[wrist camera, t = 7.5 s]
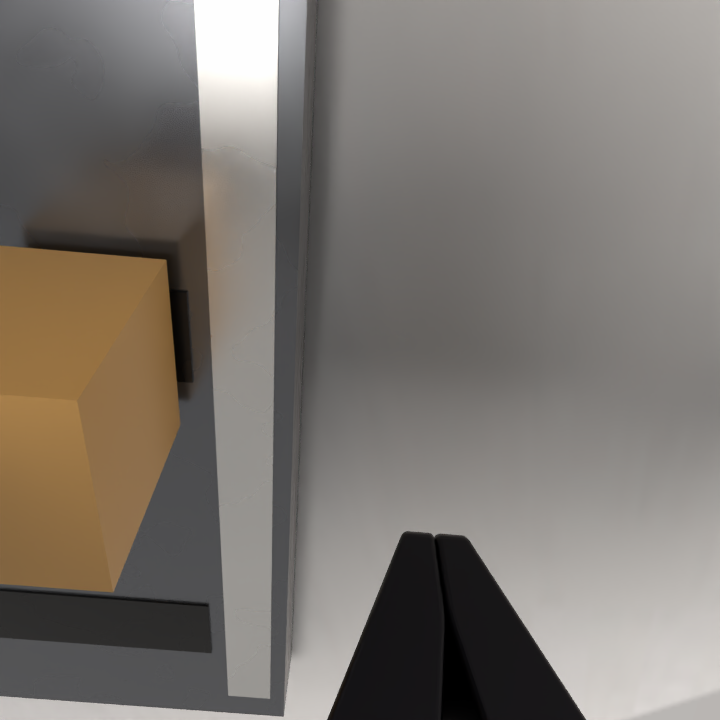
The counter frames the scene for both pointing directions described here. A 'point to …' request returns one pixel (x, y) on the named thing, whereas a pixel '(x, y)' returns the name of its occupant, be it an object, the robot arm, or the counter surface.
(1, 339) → the orange block
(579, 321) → the counter surface
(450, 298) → the counter surface
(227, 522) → the panel
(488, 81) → the counter surface
